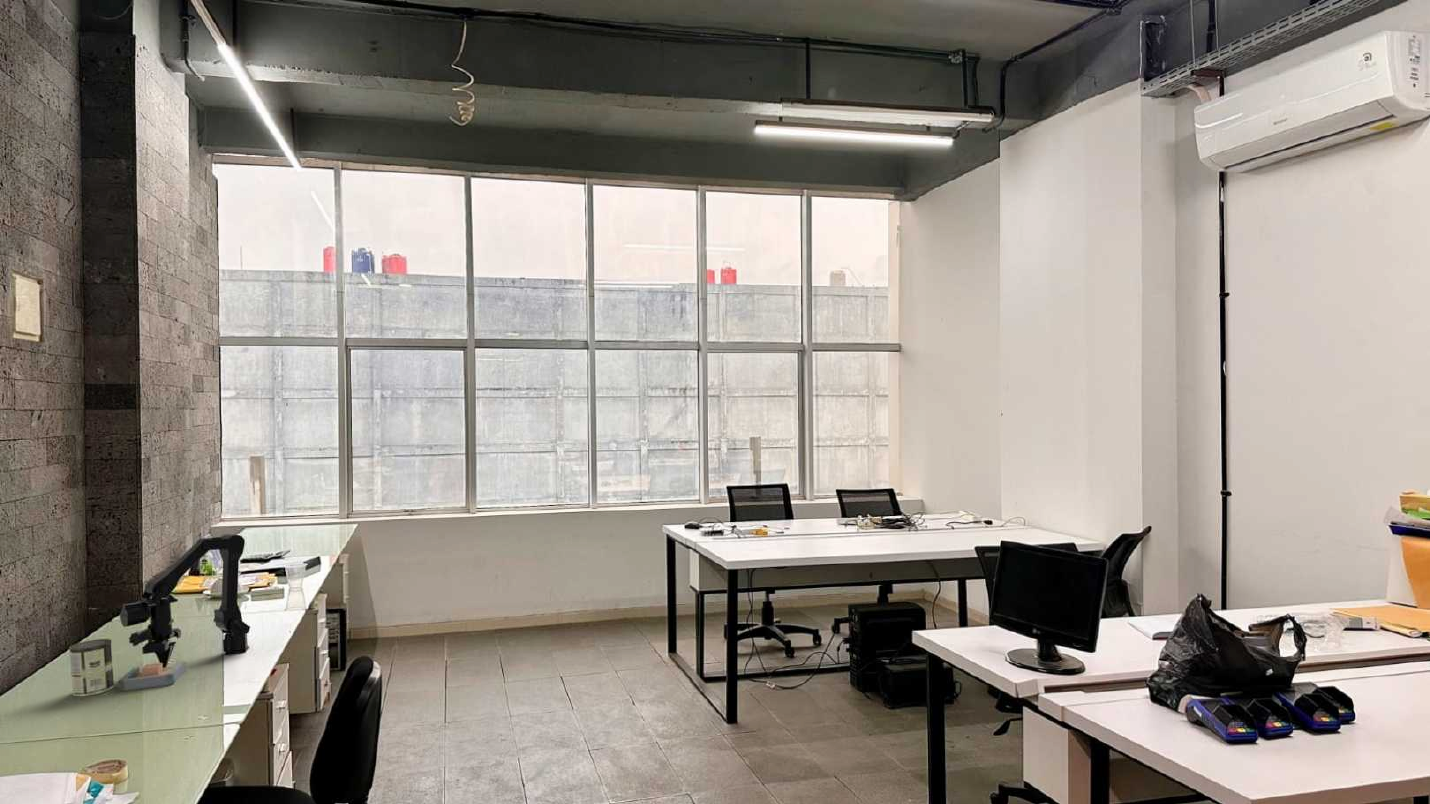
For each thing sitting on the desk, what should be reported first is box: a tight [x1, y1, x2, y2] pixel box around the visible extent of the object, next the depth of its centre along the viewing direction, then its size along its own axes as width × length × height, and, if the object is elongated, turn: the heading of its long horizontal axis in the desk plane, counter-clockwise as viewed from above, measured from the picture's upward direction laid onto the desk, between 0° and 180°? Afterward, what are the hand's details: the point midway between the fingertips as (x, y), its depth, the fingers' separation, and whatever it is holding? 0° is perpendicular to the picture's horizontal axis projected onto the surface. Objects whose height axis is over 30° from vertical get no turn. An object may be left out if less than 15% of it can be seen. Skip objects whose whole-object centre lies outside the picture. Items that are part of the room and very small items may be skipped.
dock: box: [117, 661, 187, 692], centre depth 266 cm, size 14×14×3 cm
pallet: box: [136, 668, 173, 678], centre depth 266 cm, size 9×9×2 cm
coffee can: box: [68, 638, 115, 697], centre depth 260 cm, size 10×10×14 cm
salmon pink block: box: [140, 662, 164, 677], centre depth 266 cm, size 4×4×3 cm
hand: (164, 667), depth 276 cm, fingers closed
